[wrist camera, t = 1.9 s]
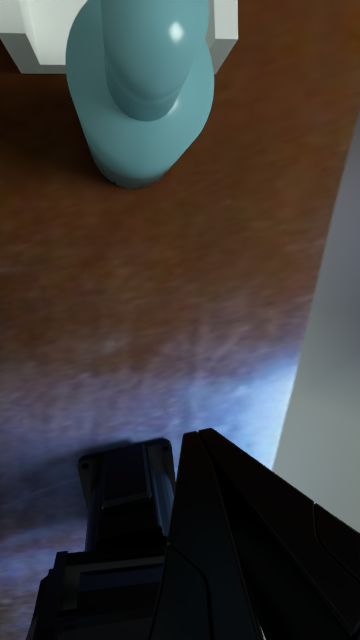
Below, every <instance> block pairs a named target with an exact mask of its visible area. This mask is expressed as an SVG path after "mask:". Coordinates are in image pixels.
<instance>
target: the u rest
mask: <svg viewBox="0 0 360 640" xmlns="http://www.w3.org/2000/svg"><path fill="white" fill-rule="evenodd" d="M87 1H88V0H0V39H1V41H2V42H3V44H4V46H5V47H6V49H7V51H8V52H9V54H10V56H11V57H12V59H13V60H14V62H15V64H16V65H17V67H18V69H19V70H20V72H21V74H66V67H65V54H66V46H67V40H68V36H69V32H70V29H71V26H72V24H73V21H74V19H75V17H76V16H77V14H78V12H79V10H80V9H81V8H82V7H83V5H84V4H85V3H86V2H87ZM208 6H209V20H208V27H207V32H206V36H205V40H206V43H207V45H208V49H209V52H210V55H211V60H212V65H213V73H214V74H216V73H217V71H218V69H219V68H220V66H221V65H222V63H223V62H224V60H225V59H226V57H227V56H228V54H229V52H230V51H231V49H232V48H233V46H234V45H235V43H236V42H237V40H238V2H237V0H208Z"/></svg>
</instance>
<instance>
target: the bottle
mask: <svg viewBox="0 0 360 640" xmlns="http://www.w3.org/2000/svg"><path fill="white" fill-rule="evenodd" d="M208 20H209V6H208V0H88V1H87V2H86V3H85V4H84V5H83V7H82V8H81V9H80V10H79V12H78V14H77V16H76V17H75V19H74V21H73V24H72V26H71V29H70V32H69V36H68V40H67V46H66V54H65V67H66V76H67V82H68V86H69V91H70V94H71V97H72V100H73V102H74V105H75V108H76V111H77V114H78V117H79V120H80V123H81V126H82V129H83V132H84V135H85V138H86V141H87V144H88V147H89V150H90V153H91V156H92V158H93V160H94V162H95V164H96V166H97V168H98V169H99V170H100V172H101V173H102V174H103V175H104V176H105V177H106V178H107V179H108V180H110V181H111V182H113V183H114V184H116V185H118V186H120V187H123V188H127V189H143V188H147V187H149V186H151V185H153V184H155V183H156V182H158V181H159V180H160V179H161V178H162V177H163V176H164V174H165V173H166V172H167V171H168V170H169V169H170V167H171V166H172V165H173V164H174V163H175V162H176V161H177V159H178V158H179V157H180V156H181V155H182V154H183V153H184V151H185V150H186V149H187V148H188V147H189V146H190V144H191V143H192V142H193V141H194V140H195V139H196V138H197V136H198V135H199V133H200V132H201V130H202V129H203V127H204V125H205V123H206V121H207V118H208V115H209V113H210V109H211V105H212V101H213V93H214V73H213V65H212V60H211V55H210V52H209V49H208V45H207V43H206V40H205V36H206V32H207V27H208Z"/></svg>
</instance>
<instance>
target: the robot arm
mask: <svg viewBox="0 0 360 640" xmlns="http://www.w3.org/2000/svg"><path fill="white" fill-rule="evenodd" d="M163 446H167V447H165V448H162V447H163ZM84 463H87V465H84ZM78 471H79V475H80V479H81V484H82V488H83V492H84V496H85V500H86V504H87V508H88V521H87V531H86V542H85V551H84V552H74V553H68V551H62V552H57V554H56V559H55V563H54V567H53V569H49V573H48V576H46V577H45V578H44V579H42V580H41V582H40V586H39V591H38V596H37V600H36V605H35V609H34V614H33V618H32V622H31V625H30V628H29V631H28V634H27V637H26V640H264V639H263V634H262V631H263V633H264V636H265V638H266V640H360V533H359V532H357V531H356V530H354V529H353V528H351V527H350V526H348V525H347V524H346V523H344V522H343V521H341V520H339V519H338V518H337V517H335V516H334V515H332V514H331V513H330V512H328V511H327V510H325V509H324V508H323V507H321V506H320V505H318V504H317V503H316V504H314V501H313V500H311V499H310V498H309V497H307V496H306V495H304V494H303V493H302V492H300V491H299V490H297V489H296V488H294V487H293V486H292V485H290V484H289V483H288V482H286V481H285V480H283V479H282V478H281V477H279V476H278V475H277V474H275V473H274V472H272V471H271V470H270V469H268V468H267V467H265V466H264V465H263V464H261V463H260V462H259V461H257V460H256V459H254V458H253V457H252V456H250V455H249V454H247V453H246V452H245V451H243V450H242V449H240V448H239V447H238V446H236V445H235V444H234V443H232V442H231V441H229V440H228V439H227V438H225V437H224V436H222V435H221V434H220V433H218V432H217V431H215V430H214V429H212V428H207V429H202V430H199V431H198V432H196V431H193V432H188V433H184V434H183V438H182V445H181V452H180V458H179V465H178V472H177V479H176V481H175V472H174V463H173V454H172V446H171V443H170V441H169V440H167V439H162V440H158V441H153V442H148V443H144V444H139V445H134V446H130V447H125V448H120V449H116V450H111V451H106V452H102V453H97V454H92V455H88V456H84V457H81V458H80V459H79V461H78ZM261 628H262V630H261Z"/></svg>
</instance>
